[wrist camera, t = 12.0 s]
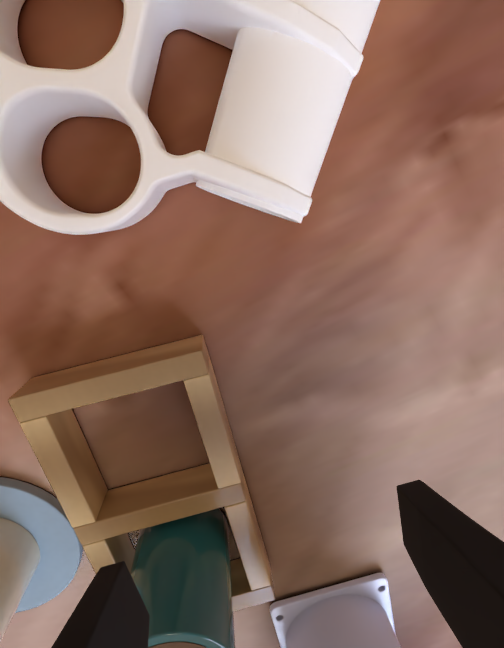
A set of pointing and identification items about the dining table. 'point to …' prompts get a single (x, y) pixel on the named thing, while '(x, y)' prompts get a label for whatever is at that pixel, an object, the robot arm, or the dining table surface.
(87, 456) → the cup holder
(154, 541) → the teal cup
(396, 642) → the robot arm
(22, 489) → the coaster
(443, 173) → the dining table surface
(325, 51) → the ring tube bracket
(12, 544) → the cream cup
